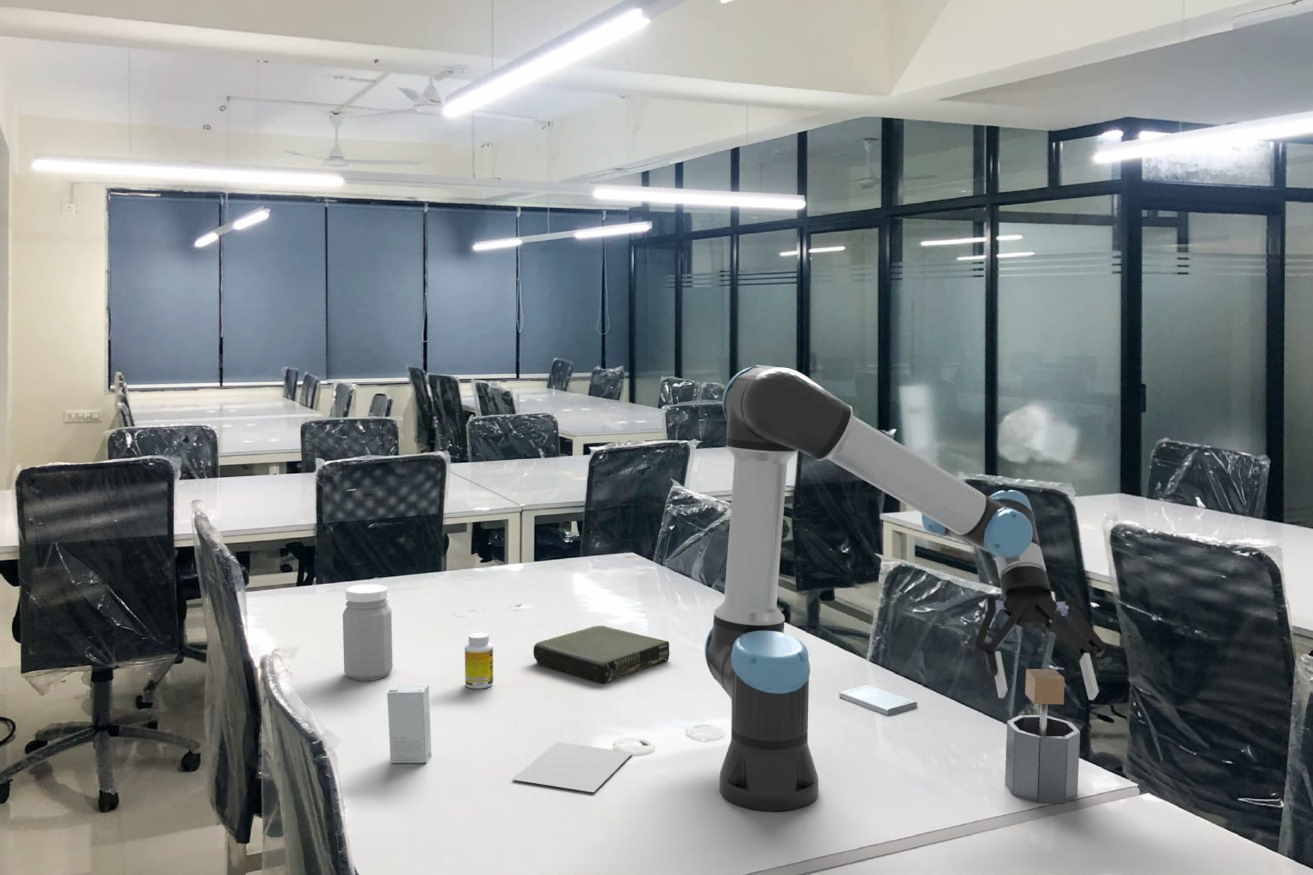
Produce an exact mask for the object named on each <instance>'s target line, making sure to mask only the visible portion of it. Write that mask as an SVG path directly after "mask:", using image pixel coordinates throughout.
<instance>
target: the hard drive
mask: <svg viewBox="0 0 1313 875" xmlns="http://www.w3.org/2000/svg"><path fill="white" fill-rule="evenodd" d="M838 696H840V697H842V698H841V699H843V698H844V699H843V700H846V699H848V700H850V701H849V702H851V701H853V702H855V703H854V704H856V705H859V704H860V705H859V706H862V707H864V708H867V709H869V708H870V709H869V710H872V711H874V710H875V712H877V713H880V714H882V715H885V714H886V715H885V716H889V714H890V715H894V714H897V713H901V712H904V711H907V709H908V710H911V709H914V708H918V702H917V701H914V700H911V699H909V698H906V697H903V696H902V695H901V696H900V695H898V694H895V693H892V692H889V691H886V690H883V689H881V688H879V687H875V686H872V685H869V684H865V685H861V686H857V687H854V688H849V689H846V690H843V691H840V692H838ZM840 697H839V698H840ZM848 700H847V701H848ZM853 702H852V703H853ZM910 708H911V709H910ZM903 710H904V711H903ZM896 712H897V713H896Z"/></svg>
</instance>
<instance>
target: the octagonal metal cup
mask: <svg viewBox="0 0 1313 875" xmlns="http://www.w3.org/2000/svg"><path fill="white" fill-rule="evenodd" d="M1039 731H1040V714H1039V715H1038V714H1035V715H1033V714H1031V715H1030V714H1021V715H1018V716H1016V717H1013V718H1011V719H1009V720H1007V721H1006V744H1005V745H1006V746H1005V747H1006V748H1005V749H1006V750H1005V771H1004V772H1005V774H1004V776H1005V777H1004V784H1005V786H1006V788H1008V790H1009V792H1010V793H1011V794H1012V795H1013V796H1016V797H1019V798H1022V799H1024V800H1027V801H1031V802H1034V803H1038V804H1066V803H1068V802H1070V801H1072V800H1073V799H1075V798H1076V797H1077V796H1078V794H1079V793H1078V788H1079V787H1078V786H1079V766H1080V765H1079V764H1080V745H1081V744H1080V741H1081V731H1080V730H1079V729H1078V728H1077V727H1076V726H1075V725H1074V724H1073V723H1072V722H1071V721H1067V720H1064V719H1062V718H1061V719H1060V718H1057V717H1053V716H1051V715H1047V730H1046V736H1039Z"/></svg>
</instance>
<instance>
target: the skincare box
mask: <svg viewBox="0 0 1313 875" xmlns="http://www.w3.org/2000/svg"><path fill="white" fill-rule="evenodd" d="M429 687H430V686H429V685H428V684H394V685H392V686H391V688H390V689H389V691H387V697H386V698H387V711H388V712H387V713H388V731H389V732H388V734H389V735H388V736H389V754H390V755H389V756H390V757H389V758H390V763H391V764H427V763H428V761H429V759H430V758H431V756H432V737H431V736H432V735H431V714H430V713H431V712H430V711H431V708H430V689H429Z"/></svg>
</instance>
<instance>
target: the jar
mask: <svg viewBox="0 0 1313 875" xmlns="http://www.w3.org/2000/svg"><path fill="white" fill-rule="evenodd" d="M388 590H389V589H388V586H386V585H383V584H379V583H378V584H377V583H364V584H363V583H362V584H356V585H352V586H350V587H347V588H346V590H345V600H346V602H345V603H346V604H345V606H346V608H345V609H344V610H343V613H342V635H343V636H342V637H343V638H342V640H343V670H344V671H343V673H344V674H345V675H346V676H347V677H348V678H349V679H351V680H354V681H374V680H380V679H383V678H384V677H387V676H389V674H390V673H391V672H392V670H393V666H394V664H393V660H394V659H393V626H392V625H393V624H392V623H393V621H392V620H393V616H392V614H393V613H392V608H391V607H390V606H389V605H388V602H389V600H388V599H387V598H388V596H389V595H388Z"/></svg>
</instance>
